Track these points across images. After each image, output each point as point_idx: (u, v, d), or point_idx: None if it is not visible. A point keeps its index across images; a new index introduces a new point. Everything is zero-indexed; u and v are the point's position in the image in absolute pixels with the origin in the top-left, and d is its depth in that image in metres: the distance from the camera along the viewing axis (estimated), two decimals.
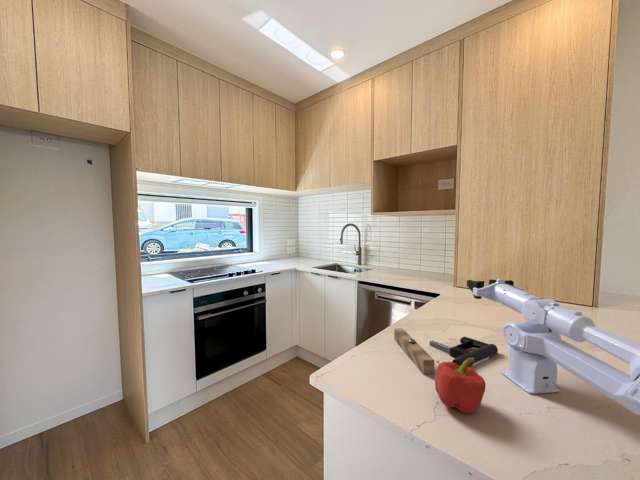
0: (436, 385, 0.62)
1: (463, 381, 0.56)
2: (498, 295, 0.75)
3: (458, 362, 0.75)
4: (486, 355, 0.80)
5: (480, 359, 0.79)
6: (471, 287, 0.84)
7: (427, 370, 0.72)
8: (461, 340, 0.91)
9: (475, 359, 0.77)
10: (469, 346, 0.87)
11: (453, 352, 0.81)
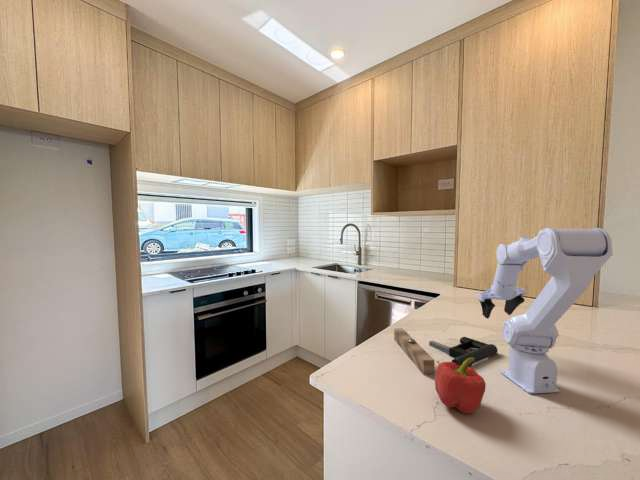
0: (436, 385, 0.62)
1: (463, 381, 0.56)
2: (495, 285, 0.82)
3: (457, 362, 0.75)
4: (486, 355, 0.80)
5: (479, 359, 0.79)
6: (486, 311, 0.86)
7: (427, 370, 0.72)
8: (461, 340, 0.91)
9: (474, 359, 0.77)
10: (469, 346, 0.87)
11: (452, 352, 0.81)
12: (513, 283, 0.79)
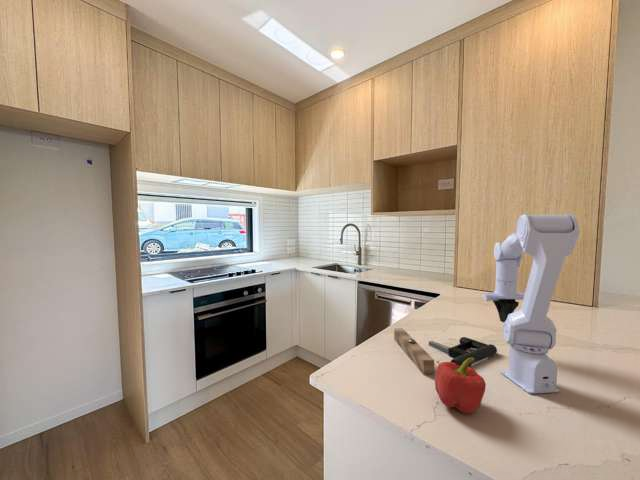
0: (436, 385, 0.62)
1: (463, 381, 0.56)
2: (497, 284, 0.85)
3: (456, 362, 0.75)
4: (485, 355, 0.80)
5: (479, 359, 0.78)
6: (503, 314, 0.85)
7: (427, 370, 0.72)
8: (460, 340, 0.91)
9: (474, 359, 0.77)
10: (468, 346, 0.87)
11: (452, 352, 0.81)
12: (513, 280, 0.82)
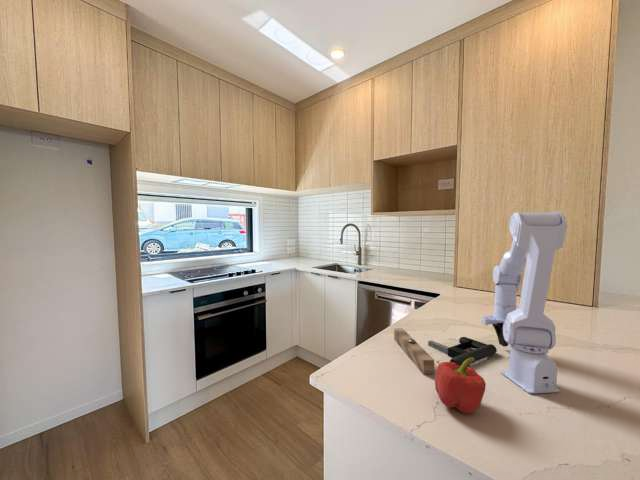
0: (436, 385, 0.62)
1: (463, 381, 0.56)
2: (496, 308, 0.85)
3: (455, 362, 0.75)
4: (484, 355, 0.80)
5: (478, 359, 0.78)
6: (502, 338, 0.85)
7: (427, 370, 0.72)
8: (460, 340, 0.91)
9: None
10: (468, 346, 0.87)
11: (451, 352, 0.81)
12: (512, 304, 0.82)
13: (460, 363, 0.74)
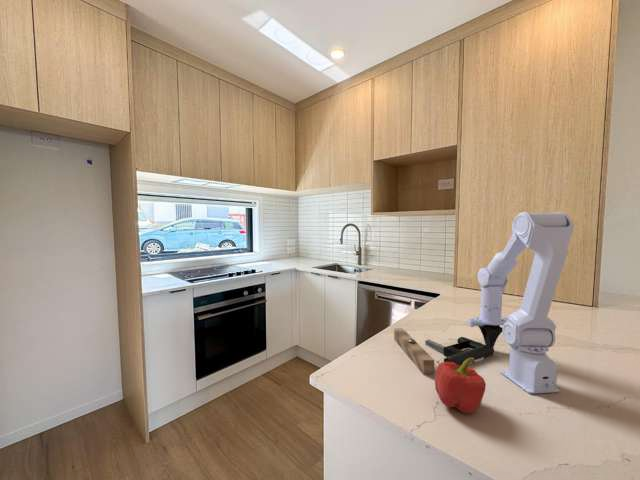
0: (436, 385, 0.62)
1: (463, 381, 0.56)
2: (482, 310, 0.85)
3: (449, 361, 0.75)
4: (480, 355, 0.79)
5: None
6: (488, 340, 0.85)
7: (427, 370, 0.72)
8: (458, 340, 0.90)
9: None
10: (465, 346, 0.87)
11: (447, 351, 0.82)
12: (499, 306, 0.82)
13: (454, 362, 0.75)
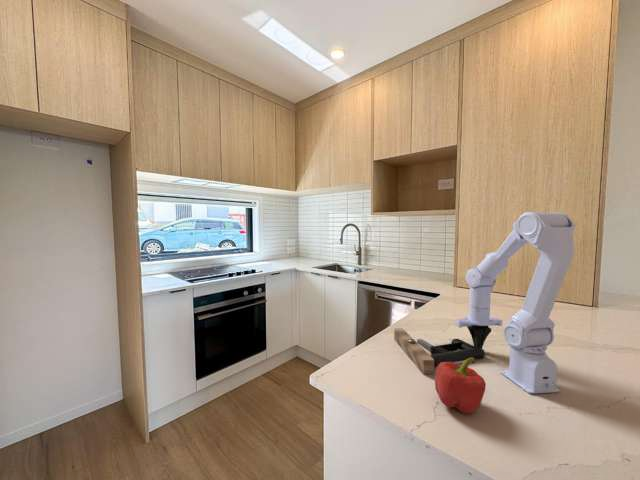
0: (436, 385, 0.62)
1: (463, 381, 0.56)
2: (470, 310, 0.84)
3: None
4: (467, 357, 0.79)
5: (459, 360, 0.78)
6: (477, 340, 0.84)
7: (427, 370, 0.72)
8: (452, 341, 0.90)
9: (451, 359, 0.77)
10: (457, 348, 0.86)
11: (433, 350, 0.83)
12: (489, 306, 0.82)
13: (434, 361, 0.76)
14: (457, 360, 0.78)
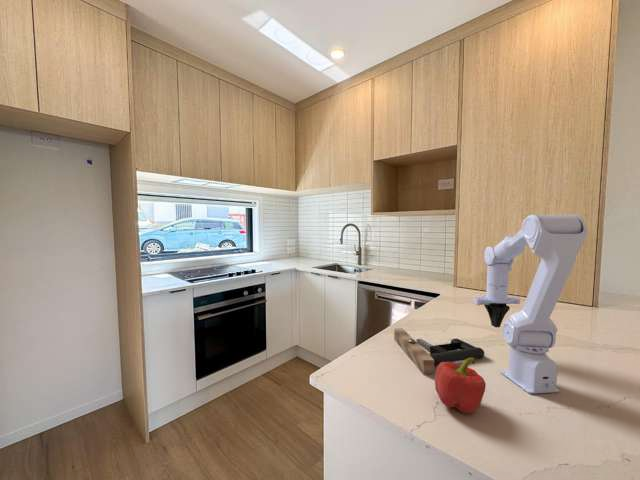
0: (436, 385, 0.62)
1: (463, 381, 0.56)
2: (488, 288, 0.84)
3: None
4: (466, 357, 0.79)
5: (458, 360, 0.78)
6: (495, 319, 0.84)
7: (427, 370, 0.72)
8: (451, 341, 0.90)
9: (450, 358, 0.77)
10: (456, 348, 0.86)
11: (432, 350, 0.83)
12: (505, 284, 0.82)
13: None
14: (456, 360, 0.78)
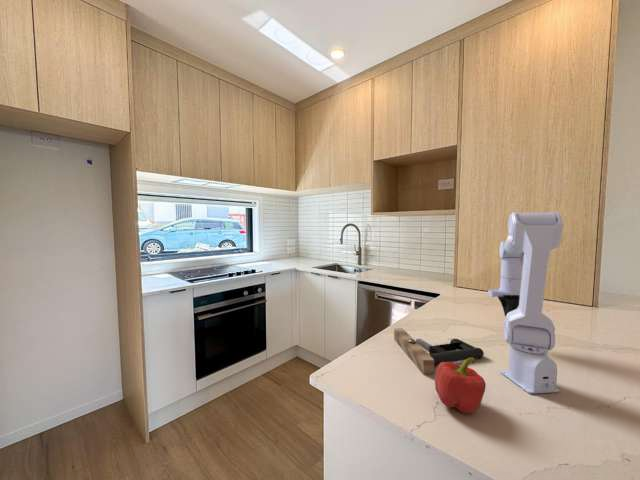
0: (436, 385, 0.62)
1: (463, 381, 0.56)
2: (502, 281, 0.89)
3: None
4: (465, 357, 0.79)
5: (457, 360, 0.78)
6: (508, 310, 0.89)
7: (427, 370, 0.72)
8: (451, 341, 0.90)
9: (449, 359, 0.77)
10: (456, 348, 0.86)
11: (431, 350, 0.83)
12: (516, 277, 0.86)
13: None
14: (455, 360, 0.78)
